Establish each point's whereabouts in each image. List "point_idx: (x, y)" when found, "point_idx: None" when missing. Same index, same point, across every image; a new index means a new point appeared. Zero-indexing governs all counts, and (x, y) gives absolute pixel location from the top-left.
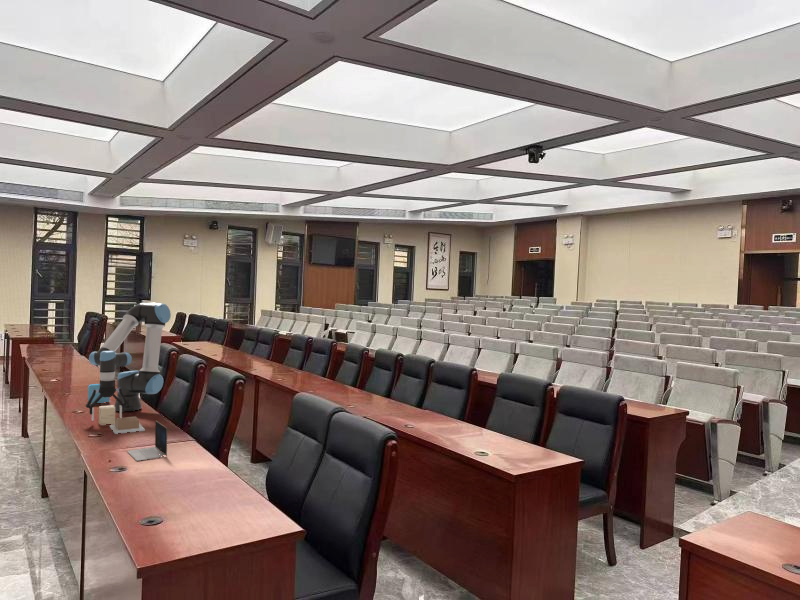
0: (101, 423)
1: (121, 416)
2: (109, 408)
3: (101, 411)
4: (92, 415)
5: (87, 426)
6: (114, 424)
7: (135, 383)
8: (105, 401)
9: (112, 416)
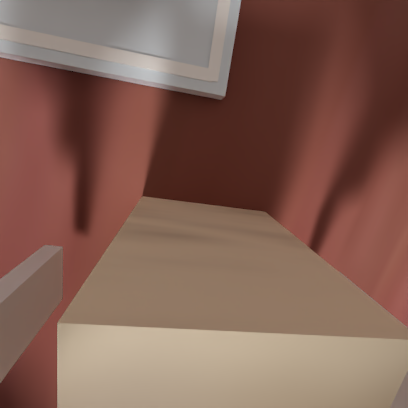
0: (264, 216)
1: (35, 255)
2: (221, 319)
3: (352, 293)
4: (386, 310)
5: (353, 235)
6: (177, 69)
7: None
8: None
9: (160, 227)
